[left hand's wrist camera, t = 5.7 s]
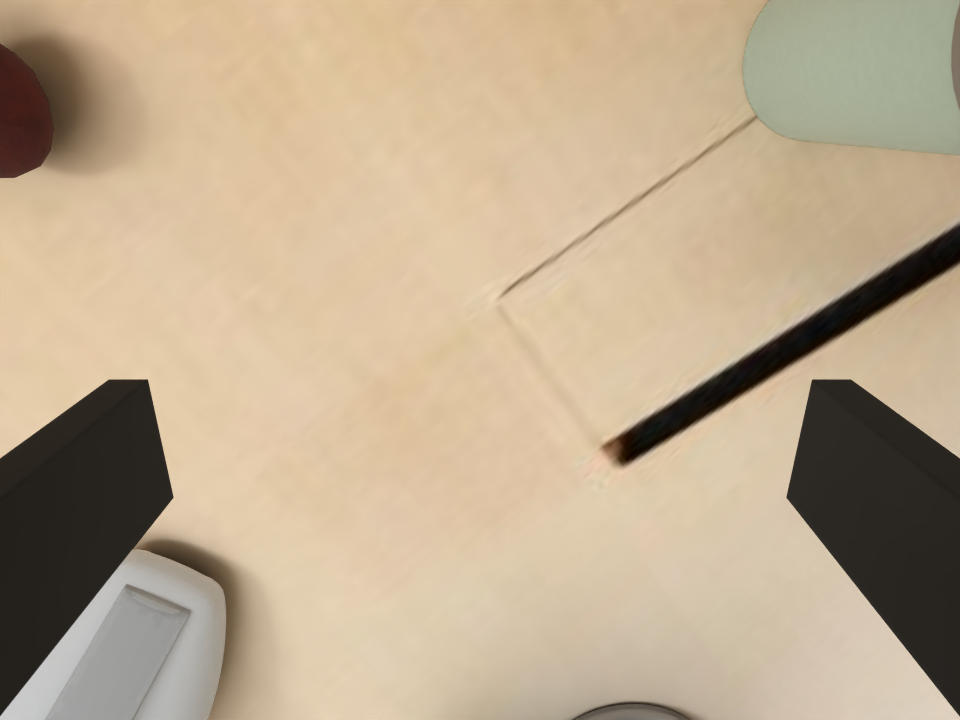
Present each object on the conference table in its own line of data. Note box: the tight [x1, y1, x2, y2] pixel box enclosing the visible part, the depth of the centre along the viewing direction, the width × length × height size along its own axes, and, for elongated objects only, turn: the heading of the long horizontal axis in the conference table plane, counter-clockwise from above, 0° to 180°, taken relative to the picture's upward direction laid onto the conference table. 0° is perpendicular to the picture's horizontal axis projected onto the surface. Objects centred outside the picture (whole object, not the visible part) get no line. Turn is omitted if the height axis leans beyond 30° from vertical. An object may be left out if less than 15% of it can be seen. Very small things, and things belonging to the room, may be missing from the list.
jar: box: [743, 0, 960, 156], centre depth 26 cm, size 9×9×20 cm
